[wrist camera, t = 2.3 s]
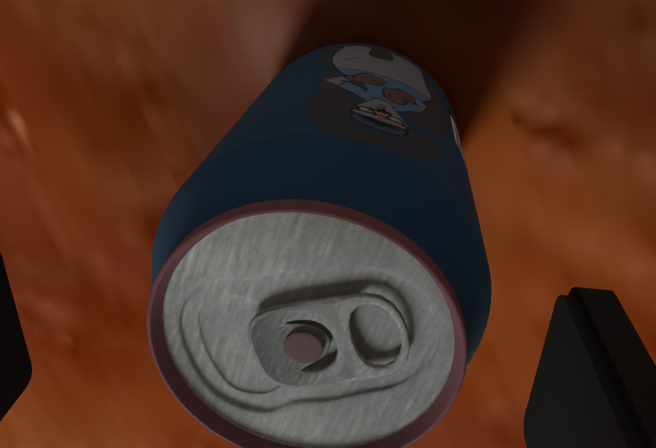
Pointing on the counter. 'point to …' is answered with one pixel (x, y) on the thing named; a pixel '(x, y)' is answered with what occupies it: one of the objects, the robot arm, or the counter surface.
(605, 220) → the counter surface
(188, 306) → the soda can
